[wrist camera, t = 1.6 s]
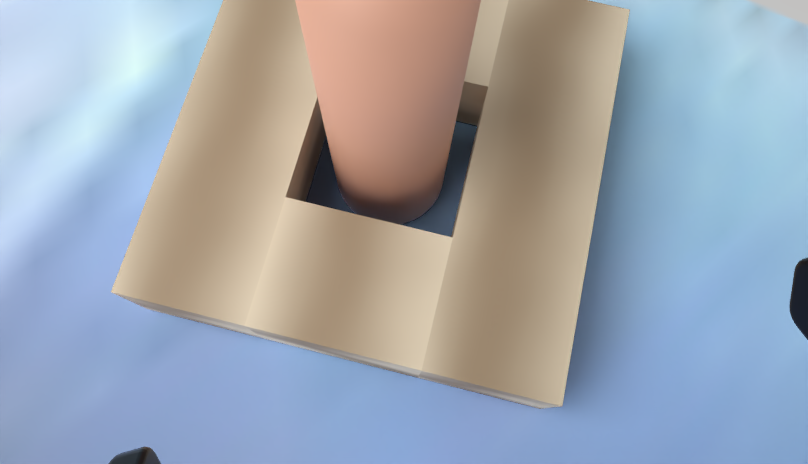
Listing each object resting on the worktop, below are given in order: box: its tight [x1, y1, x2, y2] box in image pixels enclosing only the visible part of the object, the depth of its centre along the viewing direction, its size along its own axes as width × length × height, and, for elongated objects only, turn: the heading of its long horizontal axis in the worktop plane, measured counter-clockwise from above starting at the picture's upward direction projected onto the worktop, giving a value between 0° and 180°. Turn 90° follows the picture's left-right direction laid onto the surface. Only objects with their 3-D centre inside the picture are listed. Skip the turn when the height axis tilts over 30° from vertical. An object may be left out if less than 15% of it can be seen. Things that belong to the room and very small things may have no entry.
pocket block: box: [111, 0, 630, 409], centre depth 23 cm, size 14×14×3 cm
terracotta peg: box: [295, 0, 481, 224], centre depth 18 cm, size 4×4×12 cm
